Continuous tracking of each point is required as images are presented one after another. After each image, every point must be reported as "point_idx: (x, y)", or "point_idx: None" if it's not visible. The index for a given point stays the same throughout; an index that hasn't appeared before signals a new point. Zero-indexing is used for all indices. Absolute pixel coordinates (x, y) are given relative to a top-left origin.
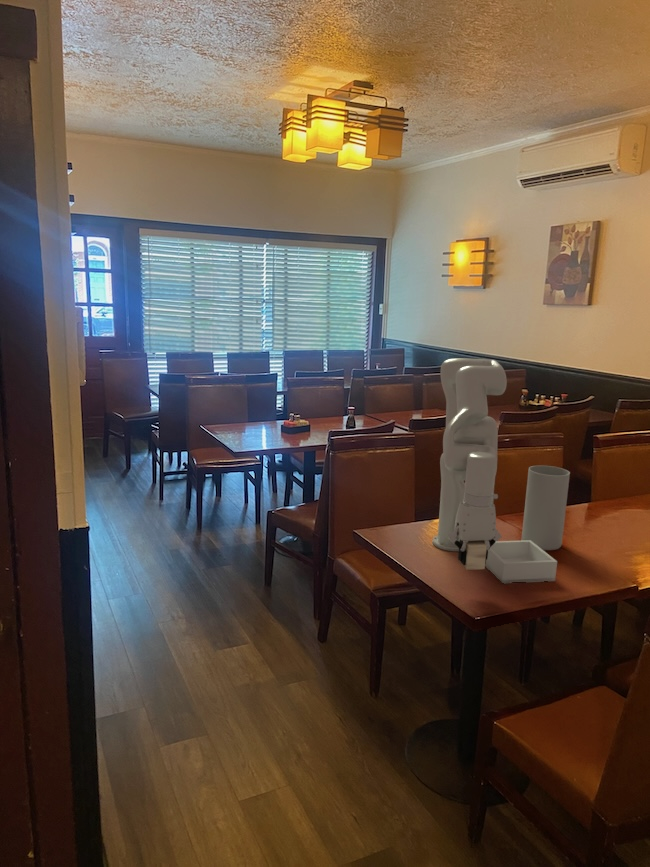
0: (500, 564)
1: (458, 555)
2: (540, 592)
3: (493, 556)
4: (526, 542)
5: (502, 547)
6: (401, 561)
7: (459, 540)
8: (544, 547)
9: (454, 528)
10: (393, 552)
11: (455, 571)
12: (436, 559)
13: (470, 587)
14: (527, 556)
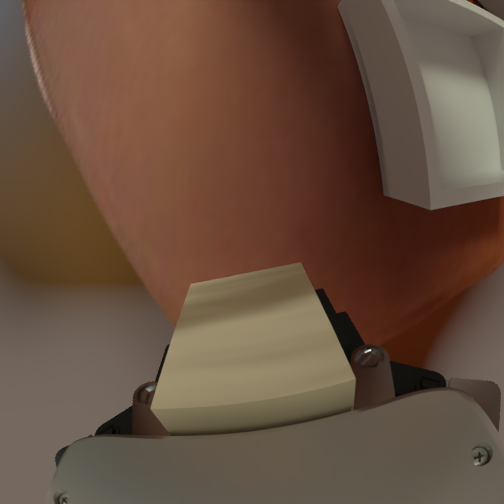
0: (416, 170)
1: (164, 358)
2: (456, 249)
3: (405, 91)
4: (497, 25)
5: (433, 6)
6: (48, 70)
7: (136, 430)
8: (495, 13)
9: (54, 488)
10: (46, 21)
11: (220, 94)
12: (164, 10)
13: (258, 238)
14: (473, 37)
